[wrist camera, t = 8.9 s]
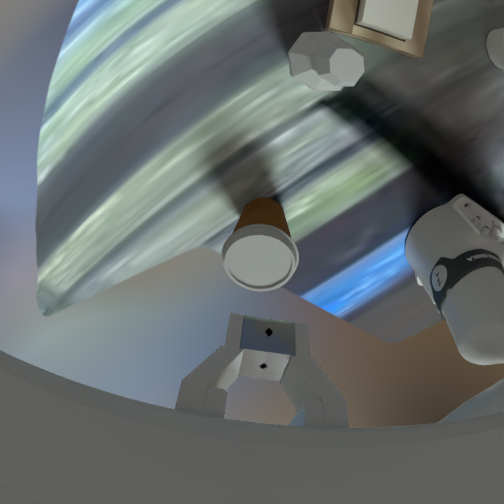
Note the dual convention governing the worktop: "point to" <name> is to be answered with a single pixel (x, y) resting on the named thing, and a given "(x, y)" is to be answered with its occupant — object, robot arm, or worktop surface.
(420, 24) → the oak key console
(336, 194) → the worktop surface
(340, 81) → the faceted bottle
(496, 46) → the cup
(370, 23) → the off-white key
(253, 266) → the disposable coffee cup
